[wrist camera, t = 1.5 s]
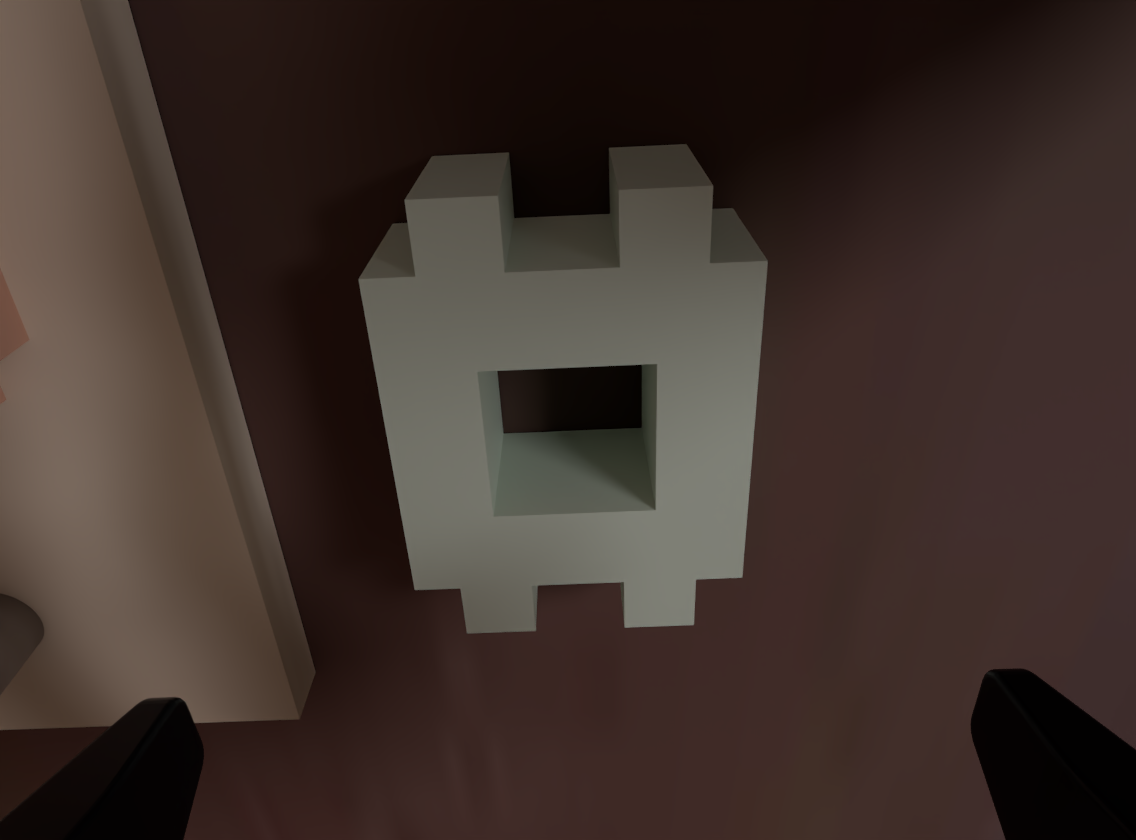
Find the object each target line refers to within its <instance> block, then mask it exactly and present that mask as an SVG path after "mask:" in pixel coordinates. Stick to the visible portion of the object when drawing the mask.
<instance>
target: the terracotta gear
mask: <svg viewBox="0 0 1136 840" xmlns="http://www.w3.org/2000/svg"><path fill="white" fill-rule="evenodd" d="M28 340H30V339H29V337H28V335H27V332H26V330H25V327H24V325H23V322H22V320H21V317H20V315H19V313H18V310H17V308H16V305H15V303H14V300H13V298H12V295H11V293H10V291H9V288H8V286H7V283H6V281H5V278H4V276H3V273H2V271H1V269H0V361H1V360H2V359H4V358H5V357H7V356H8V355H9V354H11V353H12V352H13V351H15V350H16V349H18V348H19V347H20V346H22V345H23V344H24V343H26V342H27V341H28ZM5 400H6V397H5V395H4V393H3V391H2V388H1V386H0V404H1V403H3V402H4V401H5Z"/></svg>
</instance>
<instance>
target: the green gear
mask: <svg viewBox="0 0 1136 840" xmlns="http://www.w3.org/2000/svg"><path fill="white" fill-rule="evenodd" d="M609 189H610V214H593V215H571V216H549V217H528V218H514V208H513V195H512V182H511V169H510V156H509V153H487V154H466V155H445V156H432V157H431V159H430V160H429V162H428V163H427V165H426V167H425V168H424V170H423V171H422V173H421V174H420V176H419V178H418V179H417V181H416V182H415V184H414V186H413V187H412V189H411V190H410V192H409V193H408V195H407V197H406V198H405V200H404V201H405V208H406V215H407V222H408V223H397V224H392V226H391V227H390V229H389V230H388V232H387V234H386V235H385V237H384V238H383V240H382V242H381V243H380V245H379V247H378V248H377V250H376V251H375V253H374V255H373V256H372V258H371V259H370V261H369V263H368V264H367V266H366V268H365V269H364V271H363V272H362V274H361V276H360V277H359V279H358V281H359V286H360V292H361V297H362V303H363V308H364V314H365V319H366V325H367V330H368V336H369V341H370V347H371V352H372V358H373V363H374V369H375V374H376V380H377V385H378V391H379V396H380V402H381V407H382V413H383V418H384V424H385V429H386V435H387V440H388V446H389V451H390V457H391V462H392V468H393V473H394V479H395V484H396V490H397V495H398V501H399V506H400V512H401V518H402V523H403V529H404V534H405V540H406V545H407V551H408V556H409V562H410V567H411V573H412V578H413V584H414V589H415V590H432V589H458V588H460V589H461V595H462V602H463V609H464V616H465V623H466V630H467V633H492V632H519V631H536V613H537V586H538V585H561V584H587V583H613V582H620V584H621V595H622V605H623V616H624V627H651V626H678V625H694V610H695V587H696V579H717V578H742V573H743V561H744V549H745V536H746V524H747V512H748V499H749V487H750V475H751V462H752V450H753V438H754V425H755V413H756V400H757V388H758V376H759V363H760V351H761V339H762V326H763V314H764V302H765V289H766V277H767V265H768V260H767V259H766V257H765V256H764V254H763V253H762V251H761V250H760V248H759V247H758V245H757V244H756V242H755V241H754V239H753V238H752V236H751V235H750V233H749V232H748V230H747V229H746V227H745V226H744V224H743V223H742V221H741V220H740V218H739V217H738V215H737V214H736V212H735V211H734V209H733V208H724V209H712V203H713V184H712V183H711V181H710V180H709V178H708V177H707V175H706V174H705V172H704V171H703V169H702V167H701V166H700V164H699V163H698V161H697V160H696V158H695V157H694V155H693V154H692V152H691V150H690V149H689V147H688V146H687V144H678V145H657V146H636V147H614V148H609ZM622 365H642V428H625V429H601V430H577V431H553V432H529V433H505V434H503V424H502V414H501V403H500V393H499V383H498V373H497V371H505V370H528V369H552V368H575V367H598V366H622Z"/></svg>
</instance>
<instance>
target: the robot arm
mask: <svg viewBox="0 0 1136 840" xmlns="http://www.w3.org/2000/svg"><path fill="white" fill-rule="evenodd" d="M971 734H972V739H973V742H974V746H975V749H976V752H977V755H978V758H979V761H980V764H981V767H982V770H983V773H984V776H985V779H986V782H987V785H988V788H989V791H990V794H991V797H992V800H993V803H994V806H995V809H996V812H997V815H998V818H999V821H1000V824H1001V827H1002V830H1003V833H1004V836H1005V839H1006V840H1136V750H1135V749H1134V748H1133V747H1131V746H1130V745H1129V744H1127V743H1126V742H1125V741H1123V740H1122V739H1121V738H1119V737H1118V736H1117V735H1115V734H1114V733H1113V732H1111V731H1110V730H1109V729H1107V728H1106V727H1105V726H1103V725H1102V724H1101V723H1099V722H1098V721H1097V720H1095V719H1094V718H1093V717H1091V716H1090V715H1089V714H1087V713H1086V712H1085V711H1083V710H1082V709H1081V708H1079V707H1078V706H1077V705H1075V704H1074V703H1073V702H1071V701H1070V700H1069V699H1067V698H1066V697H1065V696H1063V695H1062V694H1061V693H1059V692H1058V691H1057V690H1055V689H1054V688H1053V687H1051V686H1050V685H1049V684H1047V683H1046V682H1045V681H1043V680H1042V679H1041V678H1039V677H1038V676H1037V675H1035V674H1034V673H1032V672H1030V671H1028V670H1025V669H993V670H990V671H988V672H987V673H986V674H985V676H984V678H983V680H982V684H981V687H980V690H979V694H978V697H977V700H976V704H975V707H974V710H973V714H972V718H971ZM203 759H204V749H203V744H202V740H201V738H200V736H199V733H198V731H197V728H196V726H195V723H194V721H193V718H192V716H191V713H190V711H189V708H188V706H187V704H186V702H185V701H184V700H182V699H181V698H178V697H160V698H148V699H144V700H143V701H141V702H139V703H138V704H136V705H135V706H134V707H133V708H132V709H130V710H129V711H128V712H127V713H126V714H125V715H123V716H122V717H121V718H120V719H119V720H118V721H116V722H115V723H114V724H113V725H112V726H111V727H109V728H108V729H107V730H106V731H105V732H103V733H102V734H101V735H100V736H99V737H98V738H96V739H95V740H94V741H93V742H92V743H91V744H89V745H88V746H87V747H86V748H85V749H84V750H82V751H81V752H80V753H79V754H78V755H76V756H75V757H74V758H73V759H72V760H71V761H69V762H68V763H67V764H66V765H65V766H64V767H62V768H61V769H60V770H59V771H58V772H57V773H55V774H54V775H53V776H52V777H51V778H50V779H48V780H47V781H46V782H45V783H44V784H42V785H41V786H40V787H39V788H38V789H37V790H35V791H34V792H33V793H32V794H31V795H30V796H28V797H27V798H26V799H25V800H24V801H23V802H21V803H20V804H19V805H18V806H17V807H16V808H14V809H13V810H12V811H11V812H10V813H8V814H7V815H6V816H5V817H4V818H3V819H1V820H0V840H183V839H184V835H185V832H186V828H187V824H188V820H189V816H190V812H191V808H192V805H193V801H194V797H195V793H196V789H197V785H198V781H199V778H200V774H201V770H202V766H203Z"/></svg>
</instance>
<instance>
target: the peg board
mask: <svg viewBox="0 0 1136 840" xmlns="http://www.w3.org/2000/svg"><path fill="white" fill-rule="evenodd" d="M0 269H1V271H2V273H3V276H4V278H5V281H6V283H7V286H8V288H9V291H10V293H11V295H12V298H13V300H14V303H15V305H16V308H17V310H18V313H19V315H20V317H21V320H22V322H23V325H24V327H25V330H26V332H27V335H28V337H29V339H30V340H28V341H27V342H26V343H24V344H23V345H22V346H20V347H19V348H18V349H16V350H15V351H13V352H12V353H11V354H9V355H8V356H7V357H5V358H4V359H2V360H1V361H0V386H1V388H2V391H3V393H4V395H5V397H6V400H5V401H4V402H3V403H1V404H0V730H15V729H42V728H70V727H98V726H112V725H113V724H114V723H115V722H116V721H118V720H119V719H120V718H121V717H122V716H123V715H125V714H126V713H127V712H128V711H129V710H130V709H132V708H133V707H134V706H135V705H136V704H138V703H139V702H141V701H143V700H144V699H148V698H160V697H178V698H181V699H182V700H184V701H185V702H186V704H187V706H188V708H189V711H190V713H191V716H192V718H193V721H194V723H209V722H236V721H264V720H292V719H300V717H301V714H302V711H303V708H304V705H305V702H306V699H307V696H308V693H309V690H310V688H311V685H312V682H313V679H314V676H315V673H316V672H315V668H314V664H313V661H312V657H311V654H310V650H309V646H308V643H307V639H306V636H305V632H304V629H303V625H302V621H301V618H300V614H299V611H298V607H297V604H296V600H295V596H294V593H293V589H292V586H291V582H290V579H289V575H288V571H287V568H286V564H285V561H284V557H283V553H282V550H281V546H280V543H279V539H278V536H277V532H276V528H275V525H274V521H273V518H272V514H271V511H270V507H269V503H268V500H267V496H266V493H265V489H264V485H263V482H262V478H261V475H260V471H259V468H258V464H257V460H256V457H255V453H254V450H253V446H252V443H251V439H250V435H249V432H248V428H247V425H246V421H245V418H244V414H243V410H242V407H241V403H240V400H239V396H238V392H237V389H236V385H235V382H234V378H233V375H232V371H231V367H230V364H229V360H228V357H227V353H226V350H225V346H224V342H223V339H222V335H221V332H220V328H219V325H218V321H217V317H216V314H215V310H214V307H213V303H212V299H211V296H210V292H209V289H208V285H207V282H206V278H205V274H204V271H203V267H202V264H201V260H200V257H199V253H198V249H197V246H196V242H195V239H194V235H193V232H192V228H191V224H190V221H189V217H188V214H187V210H186V206H185V203H184V199H183V196H182V192H181V189H180V185H179V181H178V178H177V174H176V171H175V167H174V164H173V160H172V156H171V153H170V149H169V146H168V142H167V138H166V135H165V131H164V128H163V124H162V121H161V117H160V113H159V110H158V106H157V103H156V99H155V96H154V92H153V88H152V85H151V81H150V78H149V74H148V71H147V67H146V63H145V60H144V56H143V53H142V49H141V45H140V42H139V38H138V35H137V31H136V28H135V24H134V20H133V17H132V13H131V10H130V6H129V3H128V0H0Z"/></svg>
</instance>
